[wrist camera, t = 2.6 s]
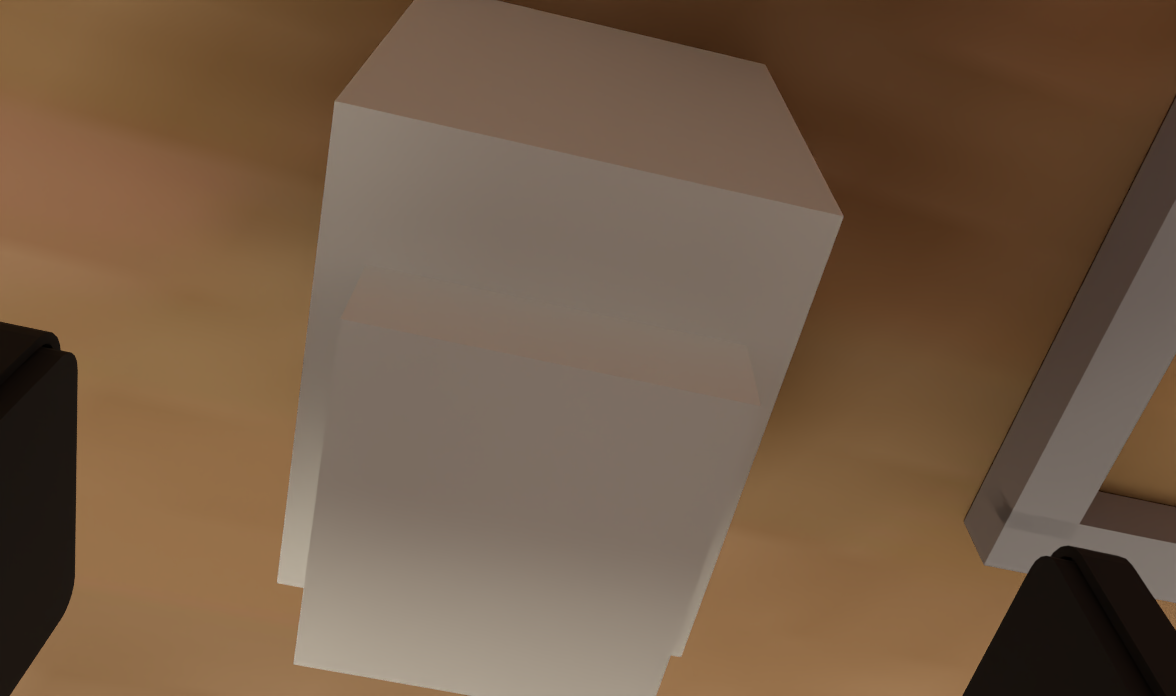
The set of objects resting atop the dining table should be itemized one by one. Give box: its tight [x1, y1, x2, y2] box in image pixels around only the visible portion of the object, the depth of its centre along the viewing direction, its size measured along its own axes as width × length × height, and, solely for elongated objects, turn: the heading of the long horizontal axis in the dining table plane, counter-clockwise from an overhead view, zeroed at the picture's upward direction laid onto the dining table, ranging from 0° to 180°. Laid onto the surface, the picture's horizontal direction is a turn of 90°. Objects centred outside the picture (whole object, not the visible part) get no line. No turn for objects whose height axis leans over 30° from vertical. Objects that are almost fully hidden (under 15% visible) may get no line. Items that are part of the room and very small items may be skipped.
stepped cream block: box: [277, 0, 844, 696], centre depth 14 cm, size 6×5×7 cm
